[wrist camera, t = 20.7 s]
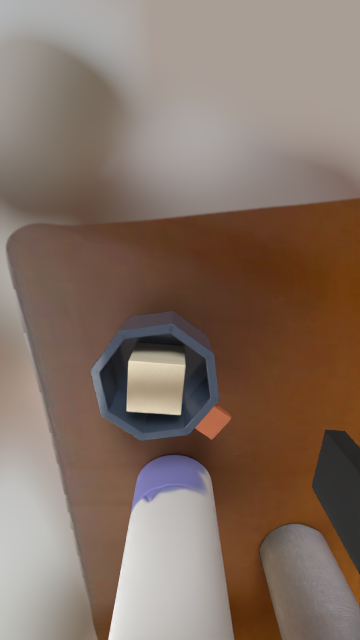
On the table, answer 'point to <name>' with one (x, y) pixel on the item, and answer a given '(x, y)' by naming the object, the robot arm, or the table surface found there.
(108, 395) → the bowl
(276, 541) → the pillar candle
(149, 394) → the block
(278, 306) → the table surface
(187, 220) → the table surface
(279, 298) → the table surface
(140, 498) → the container
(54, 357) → the table surface
